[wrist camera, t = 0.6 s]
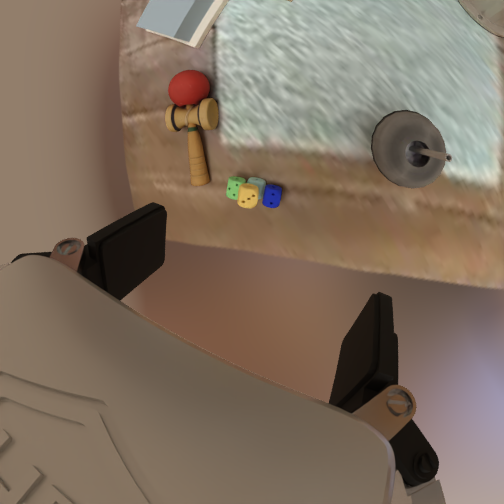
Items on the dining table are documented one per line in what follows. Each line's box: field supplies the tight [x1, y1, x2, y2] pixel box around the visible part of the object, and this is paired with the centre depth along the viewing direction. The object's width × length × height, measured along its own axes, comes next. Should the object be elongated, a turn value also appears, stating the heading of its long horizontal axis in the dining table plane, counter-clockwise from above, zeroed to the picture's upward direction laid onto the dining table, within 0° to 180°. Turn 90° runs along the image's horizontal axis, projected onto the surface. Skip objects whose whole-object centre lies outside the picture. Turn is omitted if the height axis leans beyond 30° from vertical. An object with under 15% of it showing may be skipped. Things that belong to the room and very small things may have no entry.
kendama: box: [165, 70, 218, 186], centre depth 36 cm, size 8×6×18 cm
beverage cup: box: [371, 110, 452, 188], centre depth 21 cm, size 7×7×20 cm
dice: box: [226, 176, 282, 208], centre depth 37 cm, size 8×3×6 cm, turn 80°
